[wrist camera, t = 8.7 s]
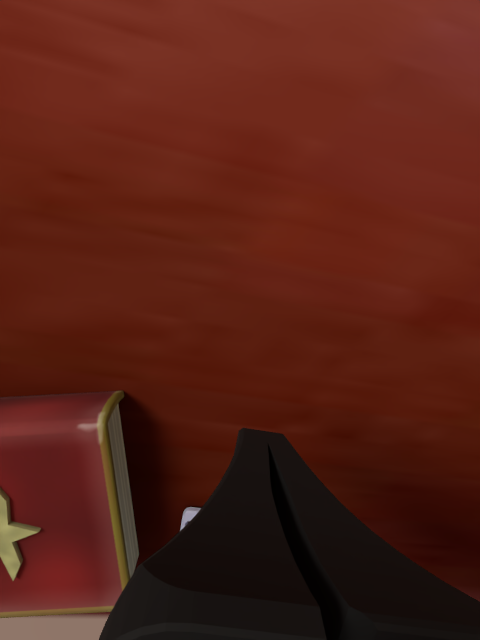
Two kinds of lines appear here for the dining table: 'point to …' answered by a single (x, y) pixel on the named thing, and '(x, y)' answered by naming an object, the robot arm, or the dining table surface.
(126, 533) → the hardcover book
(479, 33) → the dining table surface
